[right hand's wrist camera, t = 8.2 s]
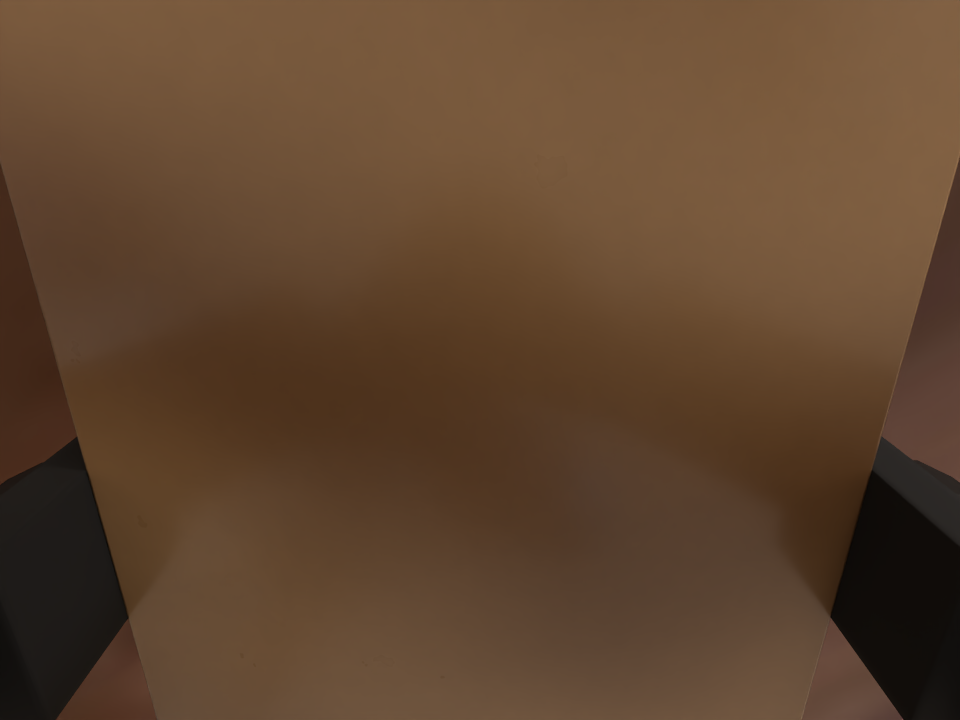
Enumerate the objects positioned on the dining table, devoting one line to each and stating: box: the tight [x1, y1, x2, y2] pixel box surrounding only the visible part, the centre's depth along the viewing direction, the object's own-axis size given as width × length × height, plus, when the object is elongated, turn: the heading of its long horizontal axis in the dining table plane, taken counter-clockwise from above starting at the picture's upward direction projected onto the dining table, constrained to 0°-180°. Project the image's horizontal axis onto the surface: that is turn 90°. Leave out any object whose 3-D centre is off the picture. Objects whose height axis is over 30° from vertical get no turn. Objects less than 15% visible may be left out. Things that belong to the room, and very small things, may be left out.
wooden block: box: [0, 0, 960, 720], centre depth 13 cm, size 13×11×10 cm
